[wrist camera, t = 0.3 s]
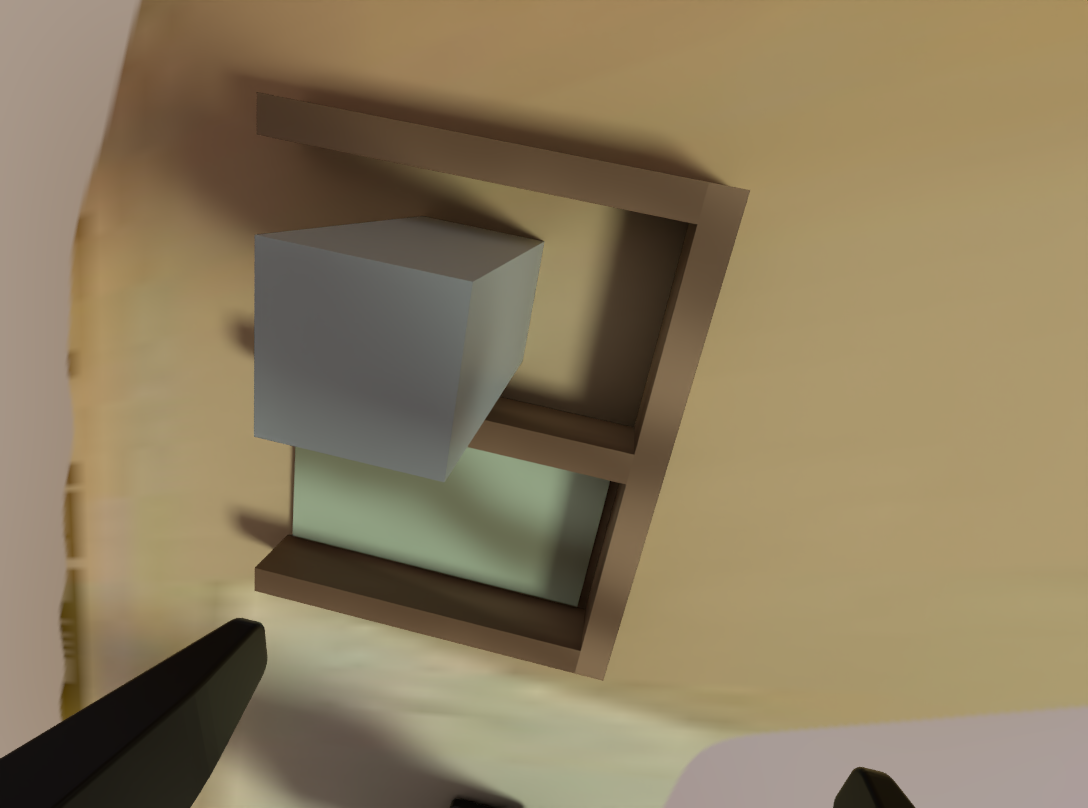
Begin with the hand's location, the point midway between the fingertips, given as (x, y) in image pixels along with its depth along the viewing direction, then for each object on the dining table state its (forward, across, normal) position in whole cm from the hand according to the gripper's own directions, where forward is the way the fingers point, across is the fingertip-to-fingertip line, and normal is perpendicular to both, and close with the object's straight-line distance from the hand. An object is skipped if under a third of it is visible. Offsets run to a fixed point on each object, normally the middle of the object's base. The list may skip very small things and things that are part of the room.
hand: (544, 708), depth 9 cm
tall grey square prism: (+15, +5, -2) cm, 16 cm away
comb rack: (+14, +5, +3) cm, 16 cm away
